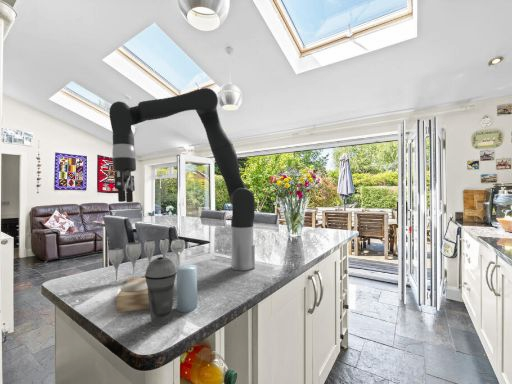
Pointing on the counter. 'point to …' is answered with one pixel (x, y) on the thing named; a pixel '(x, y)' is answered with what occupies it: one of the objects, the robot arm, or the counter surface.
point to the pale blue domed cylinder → (186, 288)
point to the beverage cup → (160, 288)
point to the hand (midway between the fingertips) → (126, 201)
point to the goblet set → (135, 250)
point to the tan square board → (133, 295)
